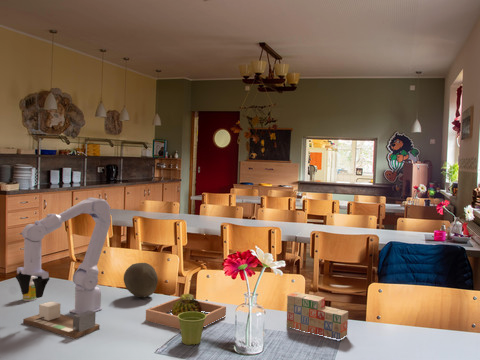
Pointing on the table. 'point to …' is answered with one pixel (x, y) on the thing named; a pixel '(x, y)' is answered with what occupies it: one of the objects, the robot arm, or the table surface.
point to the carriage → (49, 310)
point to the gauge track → (67, 324)
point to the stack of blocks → (315, 316)
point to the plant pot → (191, 327)
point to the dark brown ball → (141, 279)
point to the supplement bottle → (30, 291)
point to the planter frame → (160, 316)
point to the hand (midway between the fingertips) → (32, 295)
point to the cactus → (186, 305)
